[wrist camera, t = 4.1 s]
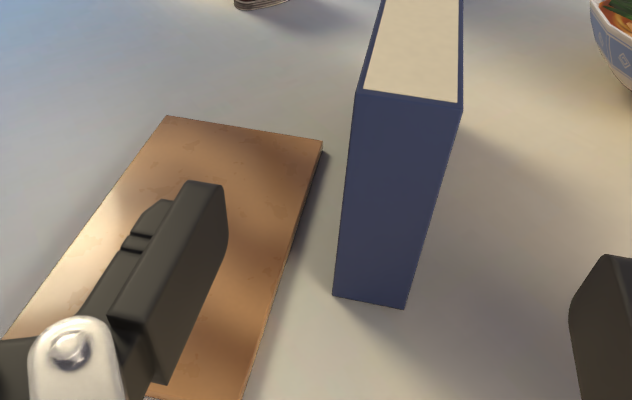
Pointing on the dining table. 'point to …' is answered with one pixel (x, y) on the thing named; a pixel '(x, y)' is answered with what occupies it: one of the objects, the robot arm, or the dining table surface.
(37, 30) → the dining table surface
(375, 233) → the book
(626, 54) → the ramen bowl
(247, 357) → the cork mat
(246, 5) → the lighter
